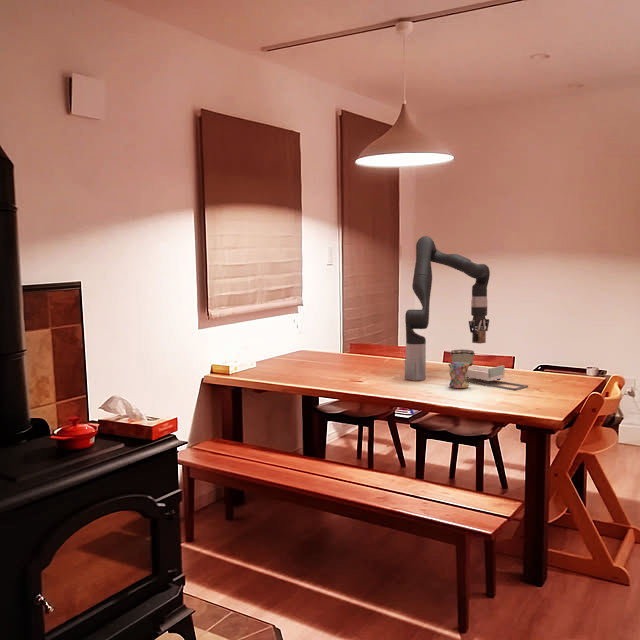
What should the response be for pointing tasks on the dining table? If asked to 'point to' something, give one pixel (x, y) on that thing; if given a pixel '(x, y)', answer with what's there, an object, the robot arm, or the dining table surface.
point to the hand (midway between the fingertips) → (478, 340)
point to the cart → (486, 373)
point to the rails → (501, 386)
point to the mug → (458, 374)
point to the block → (480, 337)
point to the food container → (462, 356)
